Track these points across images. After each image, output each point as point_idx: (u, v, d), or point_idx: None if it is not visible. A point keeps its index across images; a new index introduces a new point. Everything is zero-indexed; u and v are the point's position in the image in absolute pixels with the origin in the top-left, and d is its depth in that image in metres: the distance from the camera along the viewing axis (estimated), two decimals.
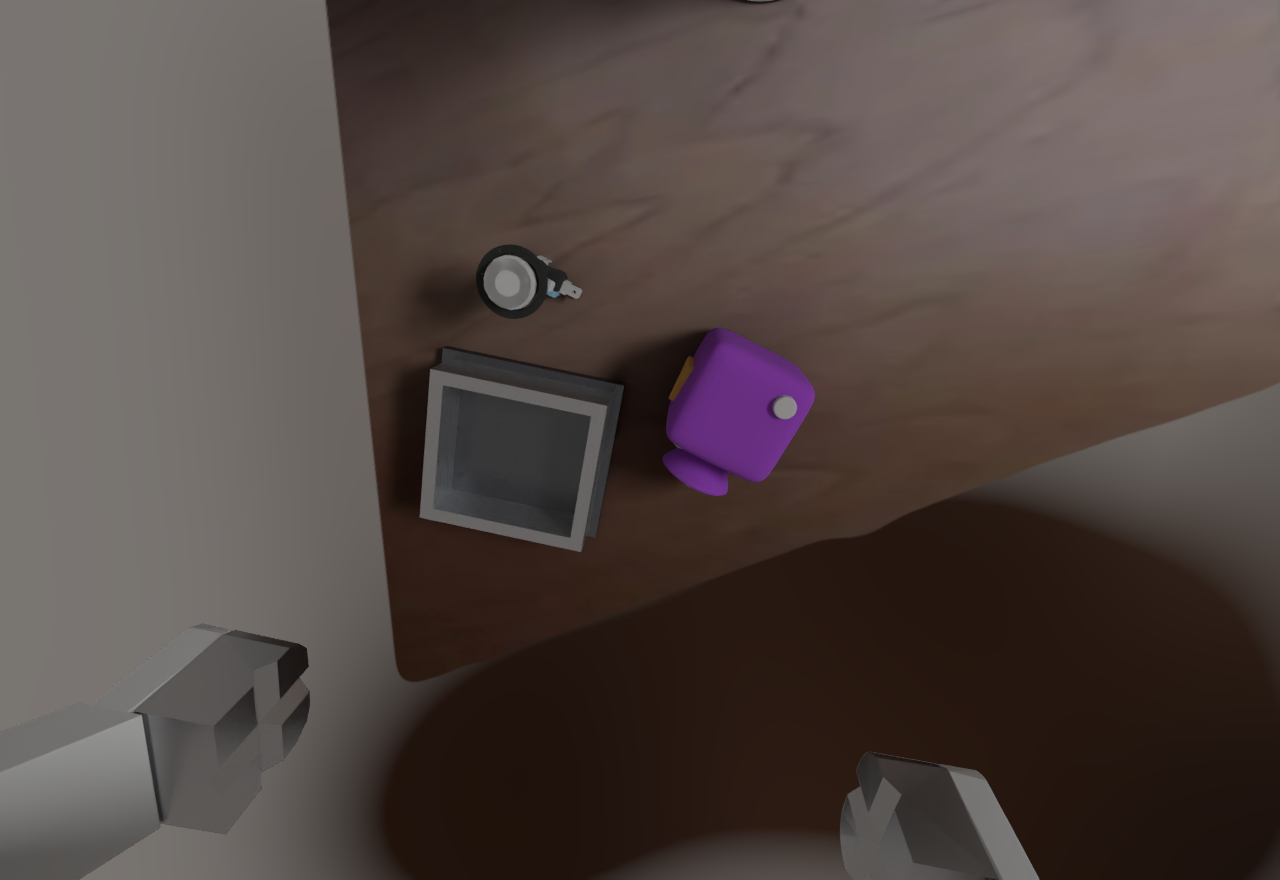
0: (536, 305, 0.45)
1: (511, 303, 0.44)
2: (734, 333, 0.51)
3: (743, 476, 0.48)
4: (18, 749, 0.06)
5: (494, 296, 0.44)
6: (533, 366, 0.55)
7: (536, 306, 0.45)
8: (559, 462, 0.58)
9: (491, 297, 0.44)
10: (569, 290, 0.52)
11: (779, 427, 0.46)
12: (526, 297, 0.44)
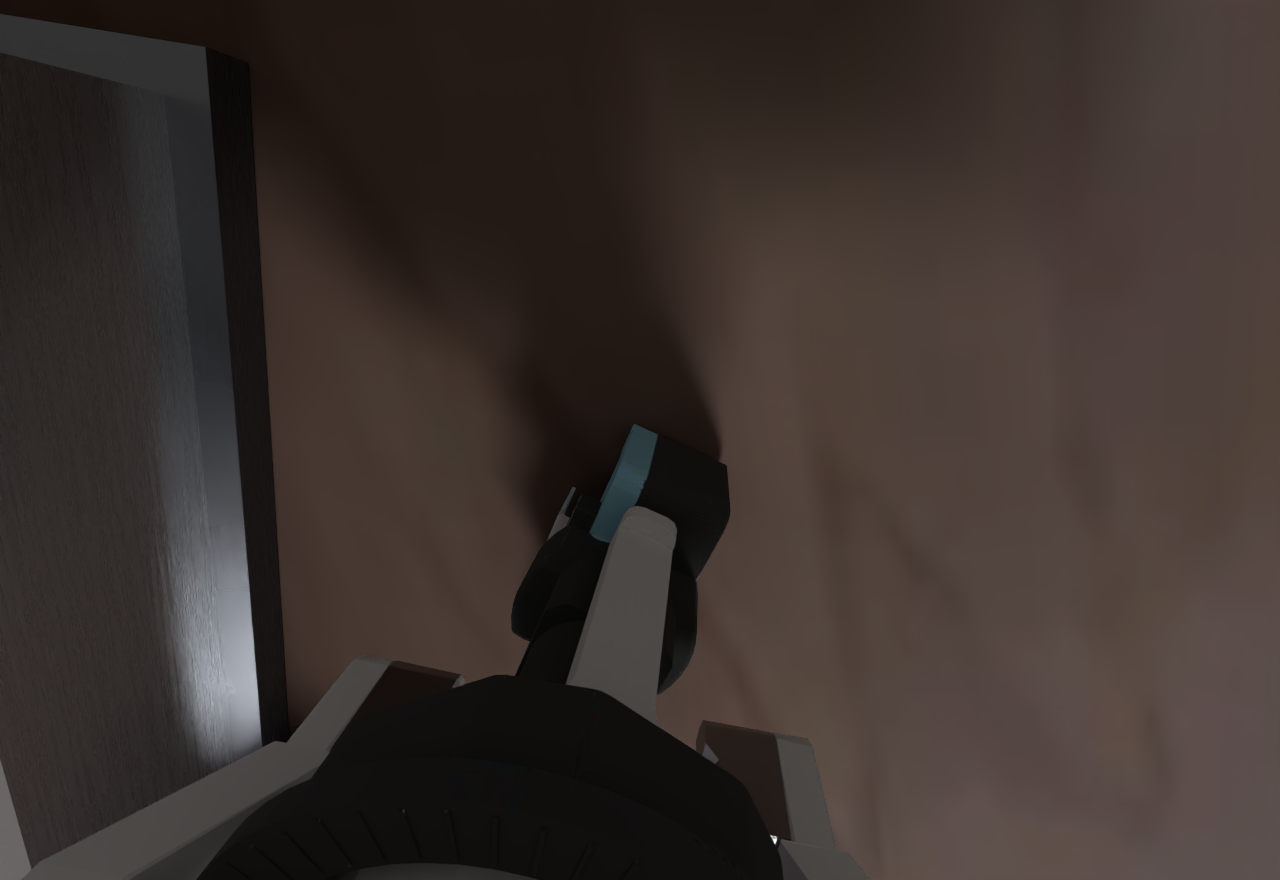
0: None
1: None
2: None
3: None
4: (236, 792, 0.06)
5: None
6: (248, 501, 0.13)
7: None
8: None
9: None
10: None
11: None
12: None
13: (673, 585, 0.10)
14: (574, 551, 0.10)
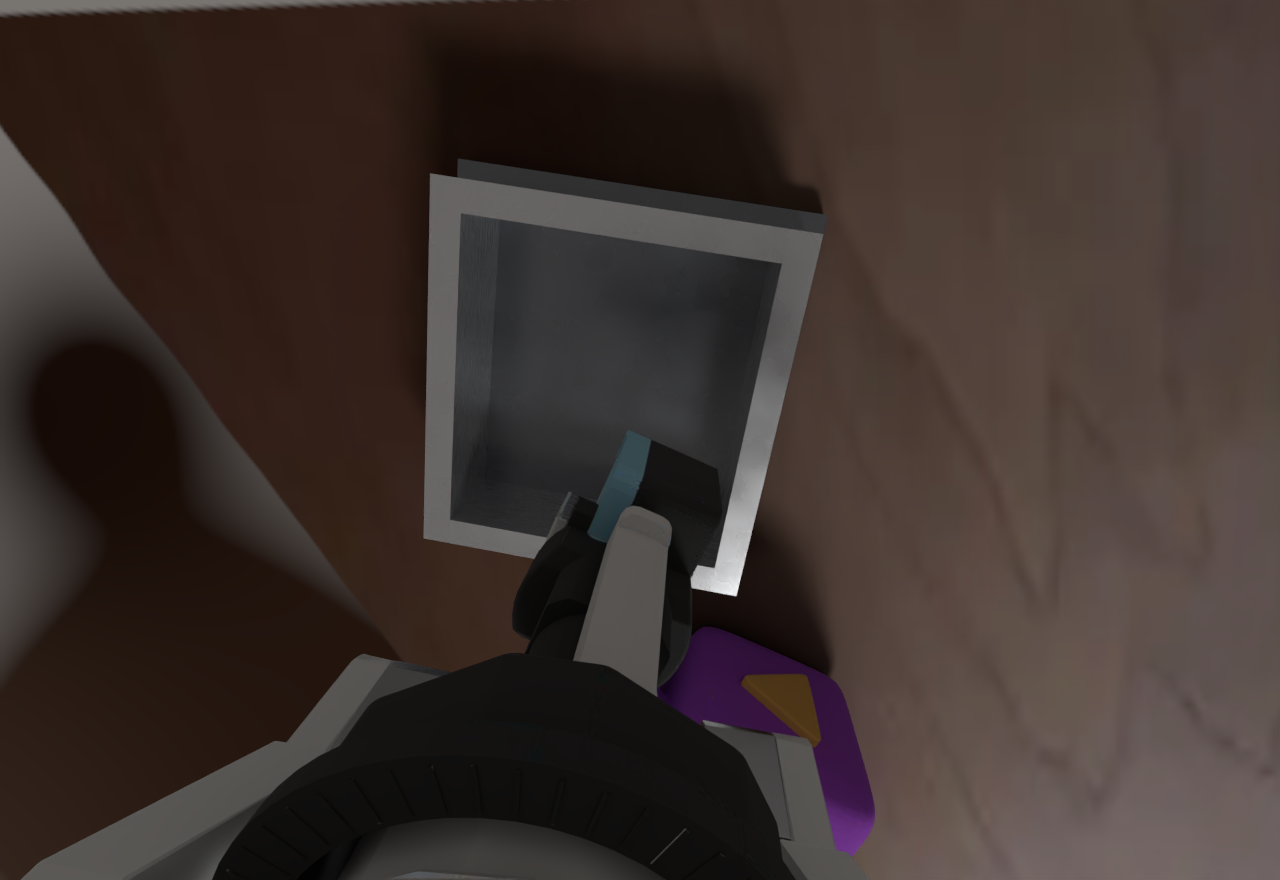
0: None
1: None
2: None
3: None
4: (236, 792, 0.06)
5: None
6: None
7: None
8: (589, 447, 0.30)
9: None
10: None
11: None
12: None
13: (668, 582, 0.10)
14: (573, 550, 0.10)
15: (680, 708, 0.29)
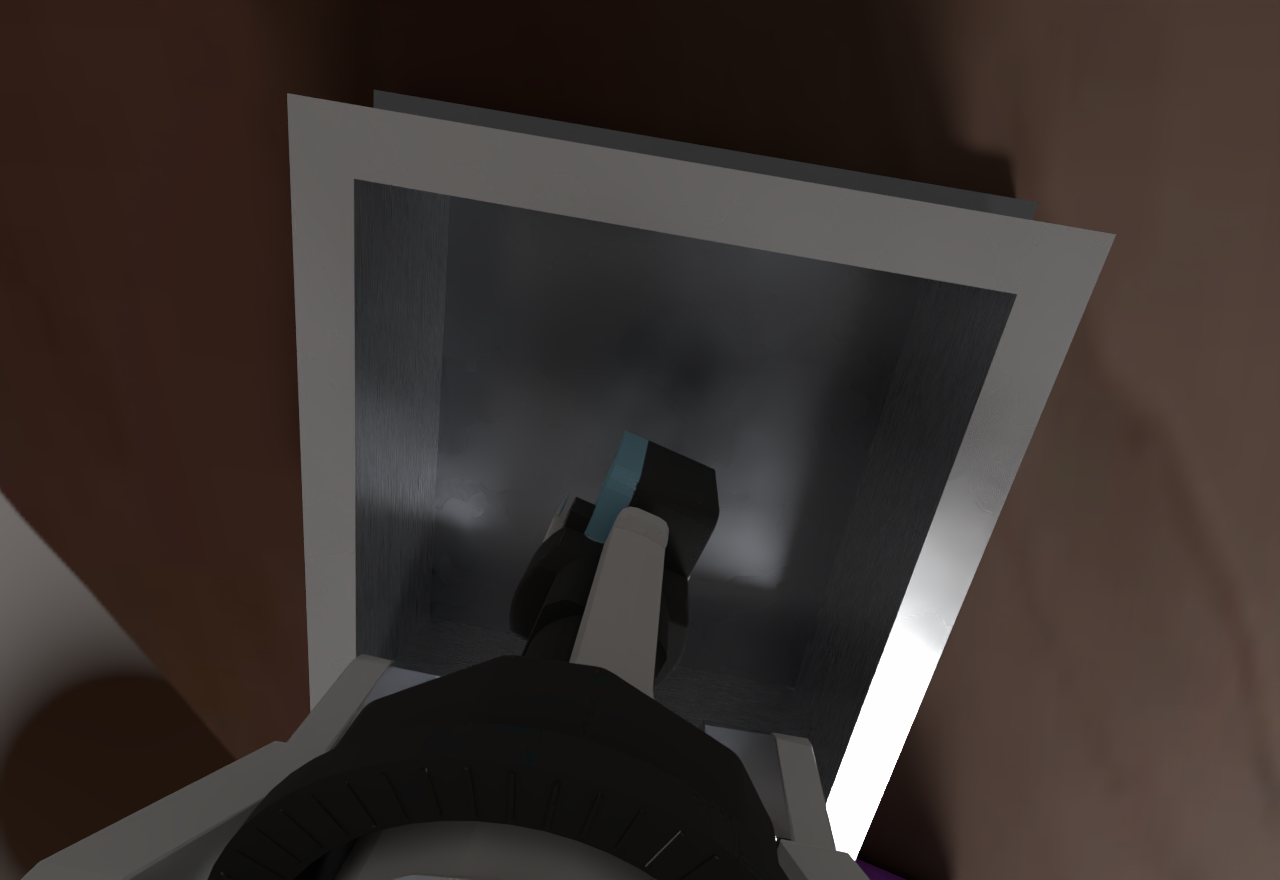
0: None
1: None
2: None
3: None
4: (235, 792, 0.06)
5: None
6: None
7: None
8: None
9: None
10: None
11: None
12: None
13: (666, 583, 0.10)
14: (570, 551, 0.10)
15: None
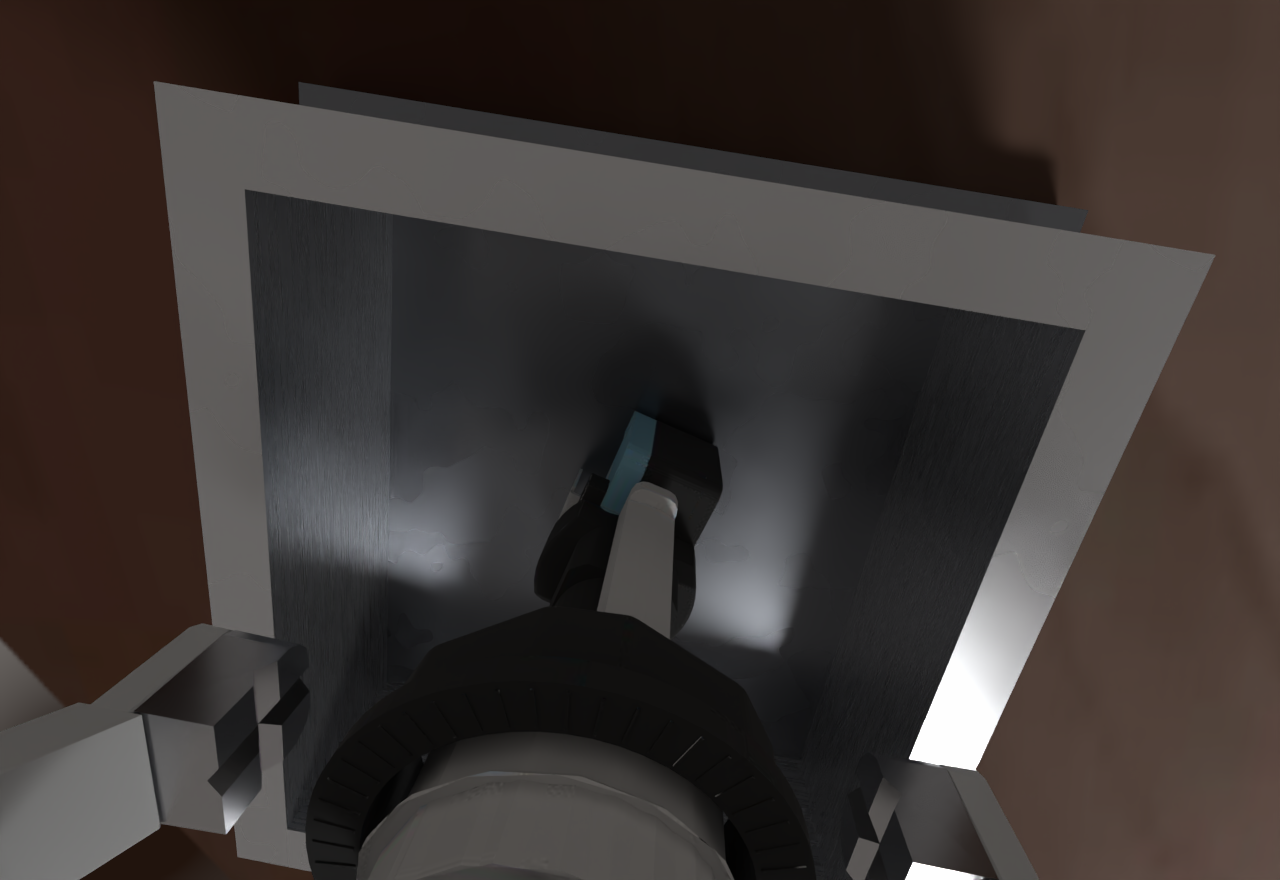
0: None
1: None
2: None
3: None
4: (18, 749, 0.06)
5: None
6: None
7: None
8: None
9: None
10: None
11: None
12: None
13: (675, 550, 0.11)
14: (589, 521, 0.11)
15: None
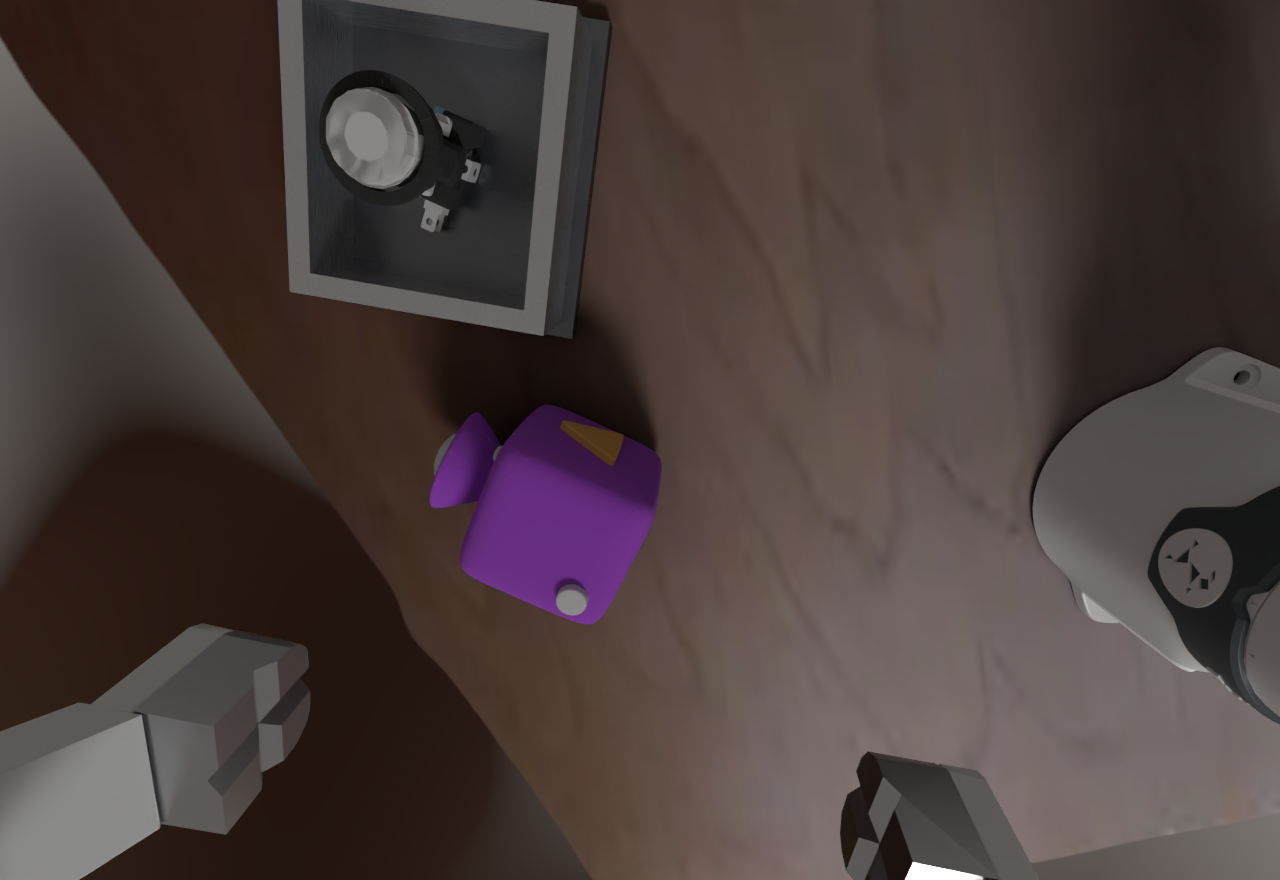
0: (349, 186, 0.27)
1: (335, 143, 0.25)
2: None
3: (465, 550, 0.34)
4: (18, 749, 0.06)
5: (340, 109, 0.25)
6: (589, 193, 0.35)
7: (348, 186, 0.27)
8: (438, 235, 0.36)
9: (337, 103, 0.25)
10: (431, 214, 0.34)
11: (542, 592, 0.34)
12: (350, 172, 0.26)
13: (452, 142, 0.31)
14: None
15: None
